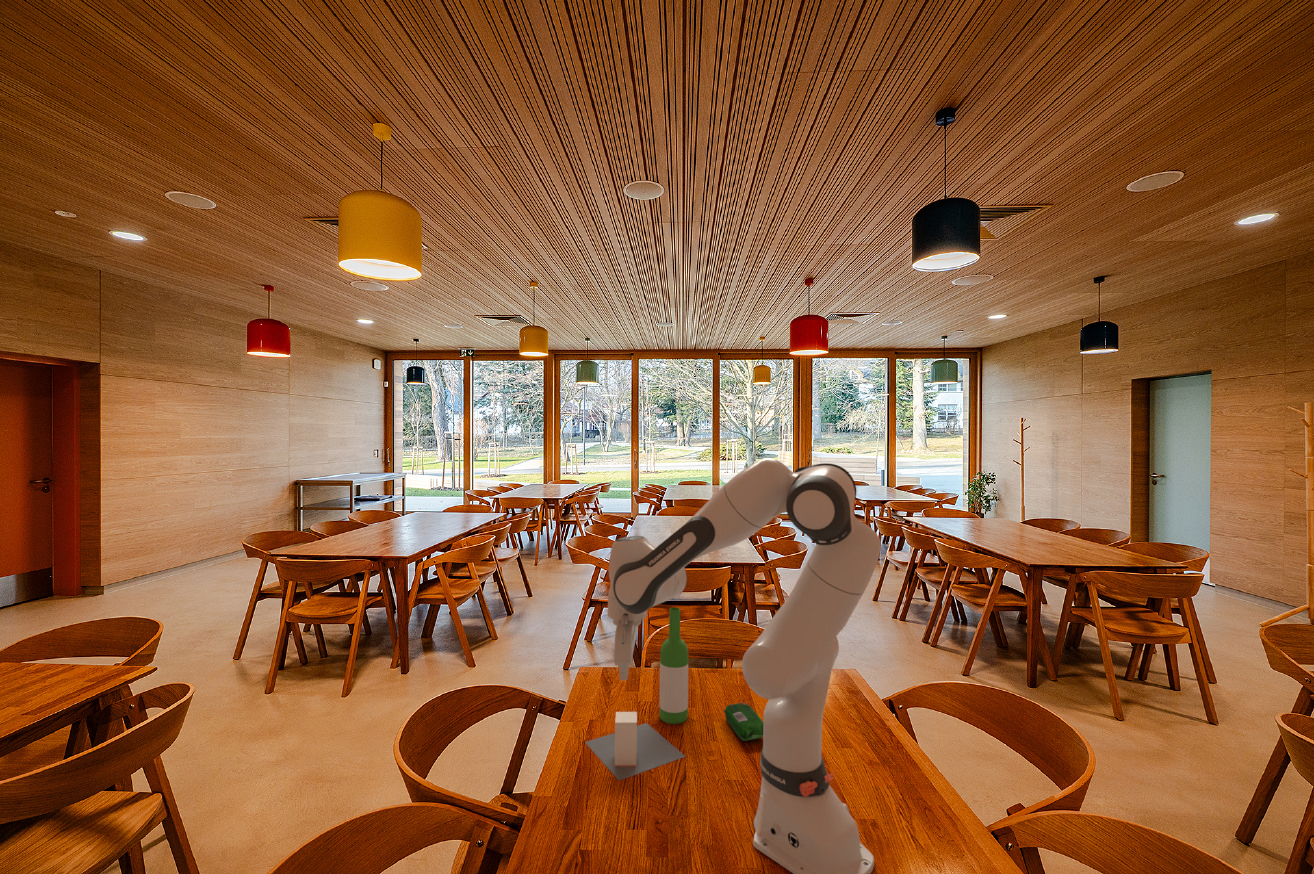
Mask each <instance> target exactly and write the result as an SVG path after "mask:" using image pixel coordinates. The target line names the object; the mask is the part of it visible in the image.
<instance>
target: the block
mask: <svg viewBox="0 0 1314 874" xmlns="http://www.w3.org/2000/svg"><path fill="white" fill-rule="evenodd" d="M614 721H615V722H614V733H615V767H627V766H636V751H637V726H638V712H637V711H616V712H615V719H614Z"/></svg>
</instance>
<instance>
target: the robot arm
mask: <svg viewBox="0 0 1314 874" xmlns="http://www.w3.org/2000/svg"><path fill="white" fill-rule="evenodd" d="M856 497H857V486H856V482H855V480H854V478H853V477H852V475H851V473H849V471H848V470H846V469H845V468H844V467H842V466H840V465H837V464H834V463H825V462H824V463H817V464H813V465H808V466H802V467H798V468H796V470H795V471H792V470H791V469H790V468H789V467H787V465H785V463H783V462H781V461H779V460H777V459H775V458H773V457H772V458H771V457H763V458H760V459H758V460H756V461H755V462H753V463H751V464H750V465H748V466H746V468H744V469H743V470H741V471H739V472H738V473H737V474H736V475H735V476H733V477H732V478H731V479H729V480H728V482H727V483H725V484H724V485H723V486H722V487H721V488H719V490H717V492H715V493H714V495H712V497H711V498H710V499H708V500H707V502H706V503H704V505H702V507H701V508H700V509H699V510H698V511H697V512H696V513H695V514H694V515H692V516H691V517H690V518H689V519H688V520H687V521H686V522H685V523H684V524H683V525H682V526H681V527H680V528H678V530H676V531H674V532H673V533H672V534H671V535H670V536H668V537H667V538H666V539H665V540H663V541H662V542H661V543H660V544H659V545H657V546H656V547H655V546H654V545H652V544H651V543H650V542H649V540H648V539H647V537H645V536H642V535H631V536H623V537H621V538H618V539H615V541H613V543H612V546H611V549H610V553H609V563H608V564H609V565H608V578H609V583H610V585H609V590H608V593H607V595H608V596H607V616H608V618H609V619H612V624H613V625H614V626H616V627H615V633H614V634H615V635H614V648H613V649H614V652H613V663H614V665H615V666H617V667H618V671H619V678H618V679H619V680H620V681H627V680H628V678H629V667H630V666H631V665H632V661H633V655H634V649H635V645H636V639H637V635H638V630H639V626H640V625H641V624H642V620H645V619H646V617H647V616H648V610H650V609H651V608H653V607H655V606H658V605H660V604H663V603H666V602H667V601H669V600H672V599H674V598H676V597H677V596H680V595H681V594H682V593H683V592H684V591H685V588H686V587H687V583H688V575H687V571H686V570H687V569H686V567H687V566H688V565H689V564H691V562H693V561H695V560H696V559H699V558H700V557H701V558H702V556H705V555H707V554H711V553H713V552H716V551H720V550H722V549H726V548H729V547H733V546H735V545H737V544H739V543H741V542H743V541H745V540H747V539H748V538H750V537H752V536H753V535H755V534H756V533H758V532H759V531H760V530H762V529H763V528H764V527H765V526H766V525H767V524H769V523H770V522H771V521H773V519H774V518H776V517H777V516H779V515H781V514H785V513H787V516H788V518H789V520H790V522H791V524H793V525H794V527H795V528H796V529H798V531H800V532H801V533H803V534H804V535H806V536H807V537H808V538H809V539H810V540H812V542H813V543H814V544H815V546H814V548H813V550H812V552H811V554H810V556H809V557H808V560H807V562H806V563H805V565H804V568H803V569H802V572H801V574H800V576H799V577H798V579H797V581H796V583H795V585H794V587H793V589H792V590H791V592H790V593H789V595H788V597H787V598H786V599H785V601H784V603H783V604H782V605H781V606H780V607H779V609H778V610H777V611H776V613H775V614H774V615H773V617H772V618H771V619H770V621H769V622H768V624H767V625H766V626H765V628H764V629H763V631H762V632H761V634H760V635H759V636H758V637H757V638H756V640H755V641H754V642H753V643H752V644H751V645H750V647H748V649H747V650H746V651H745V652H744V654H743V657H742V661H741V663H742V664H741V665H742V666H741V667H742V674H743V678H744V680H745V682H746V683H747V685H748V687H749V688H750V690H752V691H753V692H754V693H755V695H757V696H759V697H761V698H763V699H766V700H767V702H766V704H765V707H764V709H763V710H764V711H763V720H762V721H763V737H762V738H763V740H762V741H763V743H762V744H763V745H762V748H761V752H760V754H761V755H760V761H759V762H760V773H761V776H762V779H761V786H760V792H759V799H758V805H757V810H756V814H755V815H754V816H755V817H754V819H753V828H754V830H755V833H754V835H753V840H752V841H753V842H752V845H753V847H754V848H755V849H756V850H757V851H760V852H761V853H762V854H763V855H765V856H767V857H768V858H770V859H771V860H772V861H775V862H776V863H777V864H778V865H780V866H781V867H783V868H785V869H786V870H788V871H789V872H790V873H792V874H871V873H872V872H873V870H874V868H875V860H874V859H875V856H874V855H873V854H872V853H871V852H870V851H869V849H868V848H866V847H865V846H864V845H863V844H862V842H861V841H860V834H859V829H858V826H857V823H856V821H855V820H854V818H853V817H852V815H851V814H850V809H849V807H848V805H847V804H846V803H844V802H842V801H841V799H840V798H839V797H838V795H837V794H836V792H835V791H834V789H833V788H832V787H831V785H830V781H832V780H833V779H834V777H833V775H834V773H833V772H830V773H829V774H828V773H827V769H826V765H825V762H824V759H823V756H822V745H823V744H822V743H823V742H822V737H823V736H822V735H823V730H822V729H823V718H824V710H825V706H826V701H827V700H826V699H827V695H828V690H829V686H830V679H831V675H832V671H833V667H834V664H835V661H836V660H837V658H838V655H839V652H840V646H839V640H838V635H839V634H840V632H841V631H843V629H844V628H845V627H846V625H847V624H848V621H849V620H850V618H851V616H852V614H854V611H855V609H856V608H857V605H858V604H859V602H860V600H861V598H862V596H863V594H864V593H865V591H866V590H867V587H868V586H869V583H870V582H871V578H872V577H873V574H874V572H875V569H876V566H877V563H878V560H879V558H880V554H881V550H882V543H881V539H880V537H879V535H878V534H877V533H876V531H875V530H874V529H873V528H872V527H870V526H869V525H867V524H866V523H864V522H862V521H860V520H859V519H858V518H857V517H856V516H855V512H854V507H855V501H856Z"/></svg>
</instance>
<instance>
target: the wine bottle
mask: <svg viewBox="0 0 1314 874" xmlns="http://www.w3.org/2000/svg"><path fill="white" fill-rule="evenodd" d="M668 617H669V621H668V622H669V623H668V624H669V625H668V628H669V629H668V638H666V639H665V640H664V642H663V643H662V645H661V648H660V653H659V654H660V655H659V659H660V660H659V718H660V720H661V721H662V722H664V723H666V724H669V725H679V724H682V723H685V722H686V721H687V719H688V717H689V716H688V715H689V714H688V713H689V648H688V645H687V643H686V642H685V641H684V640H683V639H682V638H681V609H680V607H670V608H669V616H668Z"/></svg>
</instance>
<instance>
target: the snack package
mask: <svg viewBox="0 0 1314 874" xmlns="http://www.w3.org/2000/svg"><path fill="white" fill-rule="evenodd" d="M723 712H724V715H725V719H726V721H727V723H728V725H729V726H730V727H731V728H732V730H733V731H734V733H735V734H736V735H737V737H738V738H739V739H740V740H741V741H743V742H747V741H753V740H758V739H760V738H763V720H762V718H761V717H760V716H759V715H758V713H757V712H756V711H755V710H754V709H753V708H752V706H750V704H748V703H746V702H738V703H733V704H729V705H727V706H725V709H724V711H723Z"/></svg>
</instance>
